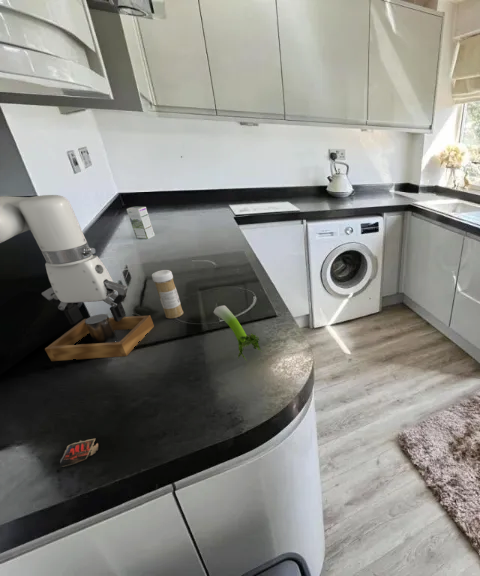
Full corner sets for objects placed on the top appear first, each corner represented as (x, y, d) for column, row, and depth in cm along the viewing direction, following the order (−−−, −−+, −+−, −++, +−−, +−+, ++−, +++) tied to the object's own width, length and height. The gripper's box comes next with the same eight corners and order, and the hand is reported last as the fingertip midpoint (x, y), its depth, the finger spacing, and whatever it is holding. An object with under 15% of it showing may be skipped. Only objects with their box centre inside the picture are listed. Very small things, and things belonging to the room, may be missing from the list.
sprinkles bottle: (169, 311, 95) (156, 269, 89) (186, 310, 95) (174, 268, 90) (162, 320, 91) (148, 276, 85) (180, 318, 91) (166, 275, 85)
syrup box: (155, 235, 160) (146, 206, 154) (148, 239, 155) (138, 208, 148) (143, 235, 160) (134, 206, 154) (135, 239, 155) (125, 208, 148)
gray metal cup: (91, 348, 79) (79, 324, 76) (103, 337, 83) (92, 314, 80) (111, 347, 79) (100, 322, 76) (121, 336, 83) (112, 313, 80)
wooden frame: (51, 361, 74) (44, 348, 73) (89, 329, 86) (84, 318, 84) (126, 356, 76) (121, 344, 75) (154, 326, 88) (150, 315, 86)
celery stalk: (234, 314, 97) (271, 357, 76) (210, 324, 94) (242, 373, 72) (227, 296, 95) (263, 336, 73) (202, 306, 91) (232, 351, 69)
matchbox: (59, 471, 51) (58, 469, 50) (63, 447, 54) (62, 445, 54) (97, 455, 53) (96, 453, 53) (99, 434, 57) (98, 432, 57)
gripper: (121, 246, 75) (145, 310, 83) (38, 250, 73) (71, 314, 81) (100, 258, 68) (129, 326, 76) (8, 262, 66) (47, 331, 74)
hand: (99, 320), depth 78 cm, fingers open, 9 cm apart
